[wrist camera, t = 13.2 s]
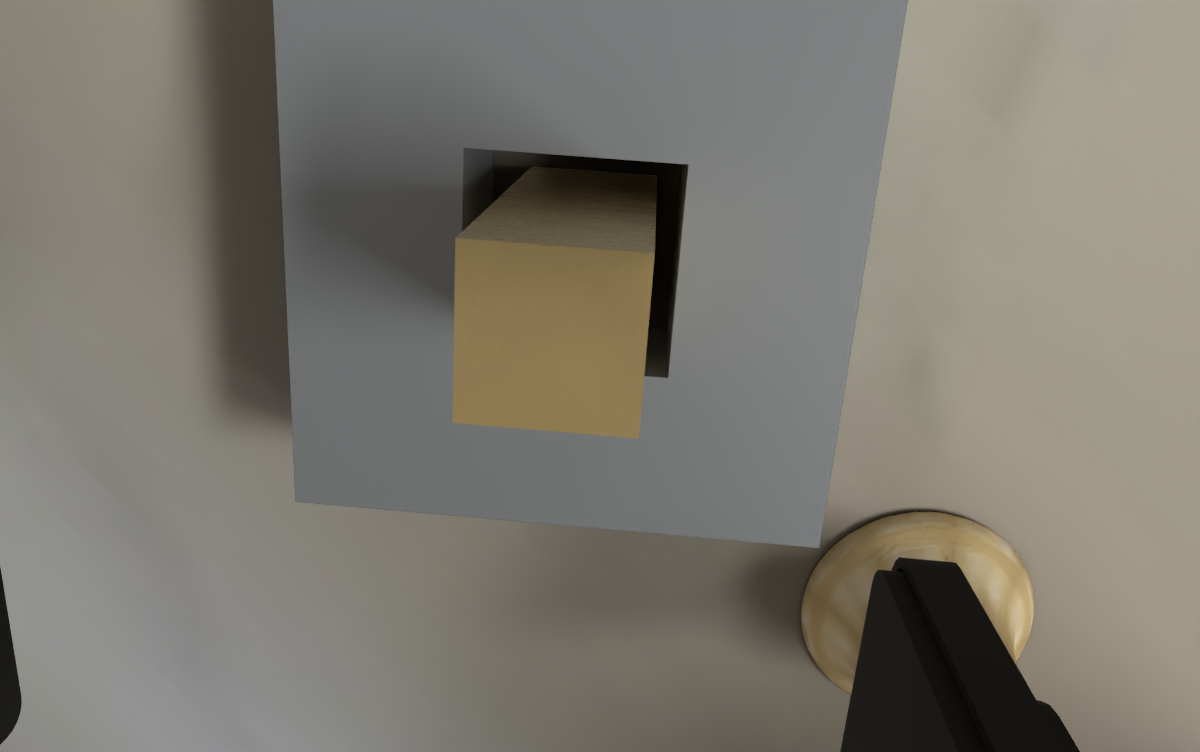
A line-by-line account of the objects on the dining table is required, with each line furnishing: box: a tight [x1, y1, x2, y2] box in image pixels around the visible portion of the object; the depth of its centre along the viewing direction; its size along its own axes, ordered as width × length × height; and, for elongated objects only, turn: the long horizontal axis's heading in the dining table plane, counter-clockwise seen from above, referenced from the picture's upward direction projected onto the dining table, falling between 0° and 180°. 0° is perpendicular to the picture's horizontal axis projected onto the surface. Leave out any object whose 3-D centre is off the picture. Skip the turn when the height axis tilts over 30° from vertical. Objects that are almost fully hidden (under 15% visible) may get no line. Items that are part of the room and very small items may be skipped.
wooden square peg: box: [453, 166, 657, 439], centre depth 25 cm, size 4×4×12 cm
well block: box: [273, 0, 908, 548], centre depth 29 cm, size 16×16×5 cm
